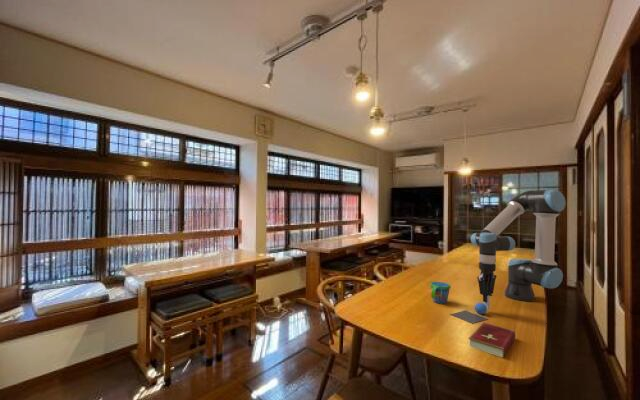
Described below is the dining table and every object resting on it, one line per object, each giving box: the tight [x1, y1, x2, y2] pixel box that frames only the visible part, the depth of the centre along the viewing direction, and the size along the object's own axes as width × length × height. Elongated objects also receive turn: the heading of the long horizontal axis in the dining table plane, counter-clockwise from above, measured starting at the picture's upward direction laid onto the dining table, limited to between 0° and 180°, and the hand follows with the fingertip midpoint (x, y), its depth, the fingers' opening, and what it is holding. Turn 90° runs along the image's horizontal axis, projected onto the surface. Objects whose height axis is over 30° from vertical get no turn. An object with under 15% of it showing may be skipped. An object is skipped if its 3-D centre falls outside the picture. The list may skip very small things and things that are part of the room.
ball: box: [474, 302, 488, 315], centre depth 146 cm, size 6×6×6 cm
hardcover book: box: [468, 321, 516, 359], centre depth 116 cm, size 12×21×4 cm, turn 136°
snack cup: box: [429, 281, 451, 305], centre depth 163 cm, size 16×10×10 cm
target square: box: [449, 310, 489, 325], centre depth 142 cm, size 12×12×1 cm
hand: (486, 307), depth 148 cm, fingers closed
